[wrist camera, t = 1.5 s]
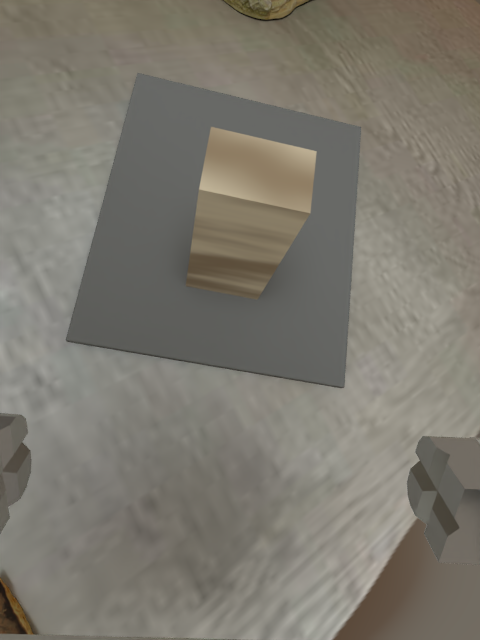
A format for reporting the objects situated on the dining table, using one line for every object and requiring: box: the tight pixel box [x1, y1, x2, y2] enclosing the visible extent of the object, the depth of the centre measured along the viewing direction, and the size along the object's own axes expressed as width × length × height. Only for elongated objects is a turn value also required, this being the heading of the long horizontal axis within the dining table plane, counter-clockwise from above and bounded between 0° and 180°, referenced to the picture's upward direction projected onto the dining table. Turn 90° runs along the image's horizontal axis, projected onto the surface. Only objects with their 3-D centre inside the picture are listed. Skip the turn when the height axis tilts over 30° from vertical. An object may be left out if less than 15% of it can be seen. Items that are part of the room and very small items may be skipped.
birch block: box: [186, 127, 317, 300], centre depth 31 cm, size 4×6×14 cm, turn 82°
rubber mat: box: [66, 73, 361, 388], centre depth 39 cm, size 26×22×1 cm
